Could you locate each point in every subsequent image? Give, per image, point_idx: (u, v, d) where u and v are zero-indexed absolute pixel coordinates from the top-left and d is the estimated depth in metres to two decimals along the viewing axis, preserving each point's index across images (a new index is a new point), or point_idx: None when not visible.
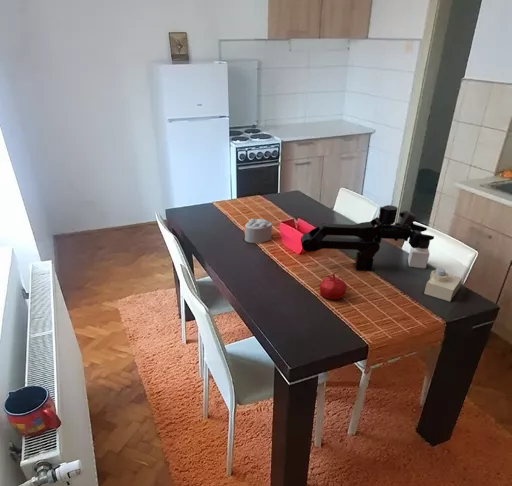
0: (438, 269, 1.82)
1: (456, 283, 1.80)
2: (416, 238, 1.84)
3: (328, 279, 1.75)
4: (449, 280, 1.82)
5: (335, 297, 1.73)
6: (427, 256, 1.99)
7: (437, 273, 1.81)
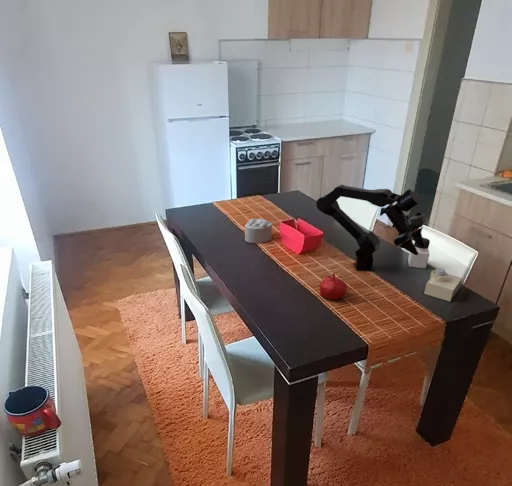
0: (438, 269, 1.82)
1: (456, 283, 1.80)
2: (403, 237, 1.76)
3: (328, 279, 1.75)
4: (449, 280, 1.82)
5: (335, 297, 1.73)
6: (427, 256, 1.99)
7: (437, 273, 1.81)
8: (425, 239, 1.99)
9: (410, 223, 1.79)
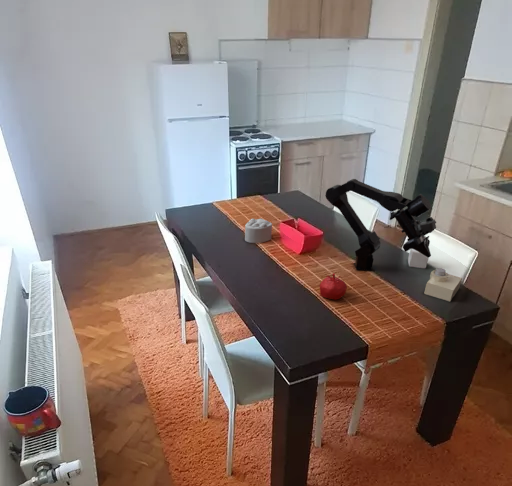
0: (438, 269, 1.82)
1: (456, 283, 1.80)
2: (412, 243, 1.74)
3: (328, 279, 1.75)
4: (449, 280, 1.82)
5: (335, 297, 1.73)
6: None
7: (437, 273, 1.81)
8: None
9: (420, 229, 1.77)
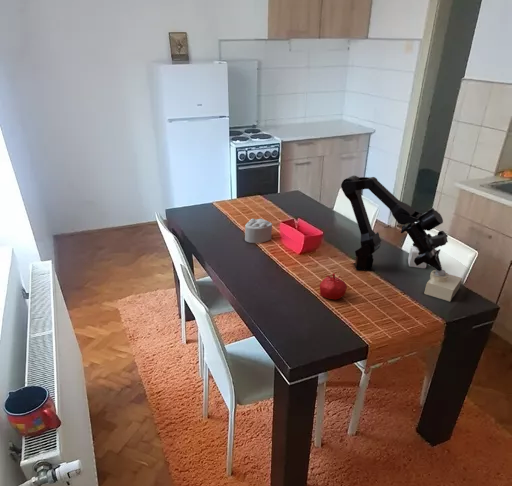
0: None
1: (456, 283, 1.80)
2: (423, 257, 1.74)
3: (328, 279, 1.75)
4: (449, 280, 1.82)
5: (335, 297, 1.73)
6: None
7: (437, 274, 1.81)
8: None
9: (431, 242, 1.77)
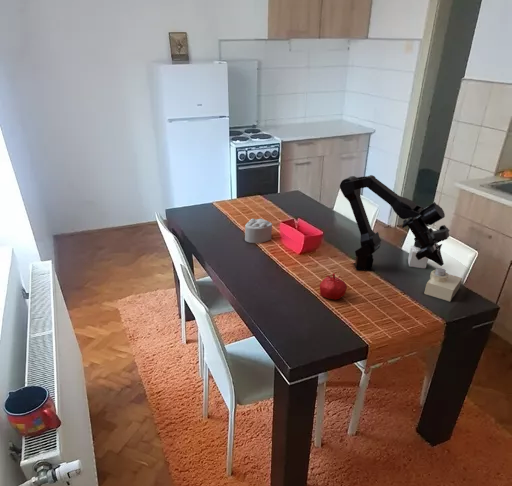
0: (438, 269, 1.82)
1: (456, 283, 1.80)
2: (425, 251, 1.73)
3: (328, 279, 1.75)
4: (449, 280, 1.82)
5: (335, 297, 1.73)
6: None
7: (437, 273, 1.81)
8: None
9: (433, 237, 1.75)
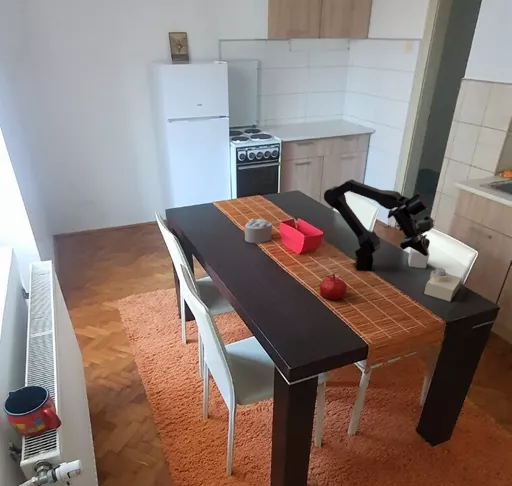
0: (438, 269, 1.82)
1: (456, 283, 1.80)
2: (409, 241, 1.74)
3: (328, 279, 1.75)
4: (449, 280, 1.82)
5: (335, 297, 1.73)
6: (427, 256, 1.99)
7: (437, 273, 1.81)
8: (425, 239, 1.99)
9: (418, 227, 1.77)
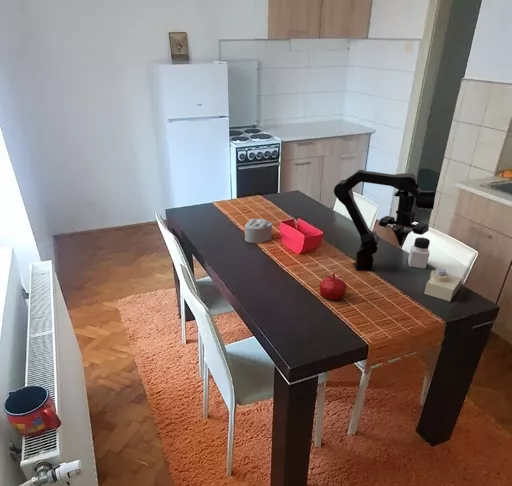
0: (438, 269, 1.82)
1: (456, 283, 1.80)
2: (427, 228, 1.81)
3: (328, 279, 1.75)
4: (449, 280, 1.82)
5: (335, 297, 1.73)
6: (427, 256, 1.99)
7: (437, 273, 1.81)
8: (425, 239, 1.99)
9: (415, 216, 1.85)
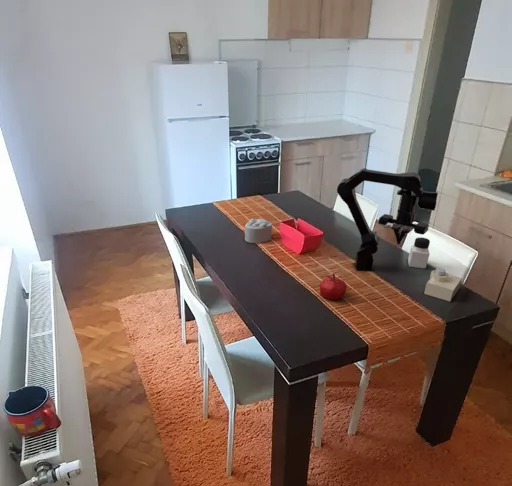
0: (438, 269, 1.82)
1: (456, 283, 1.80)
2: (427, 227, 1.83)
3: (328, 279, 1.75)
4: (449, 280, 1.82)
5: (335, 297, 1.73)
6: (427, 256, 1.99)
7: (437, 273, 1.81)
8: (425, 239, 1.99)
9: None
